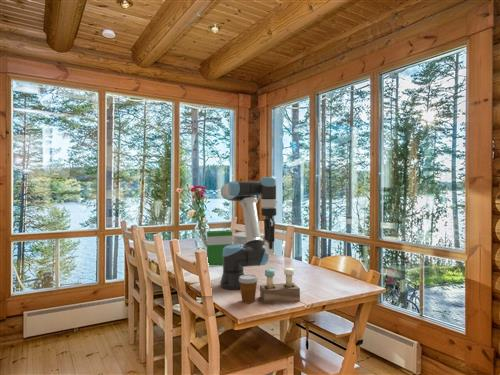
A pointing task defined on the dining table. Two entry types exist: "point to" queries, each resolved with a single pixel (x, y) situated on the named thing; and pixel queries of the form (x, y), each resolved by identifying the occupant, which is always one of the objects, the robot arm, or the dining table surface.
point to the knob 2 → (288, 276)
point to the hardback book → (217, 245)
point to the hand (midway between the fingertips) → (269, 254)
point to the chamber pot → (242, 237)
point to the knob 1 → (269, 278)
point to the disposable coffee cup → (248, 287)
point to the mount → (279, 293)
